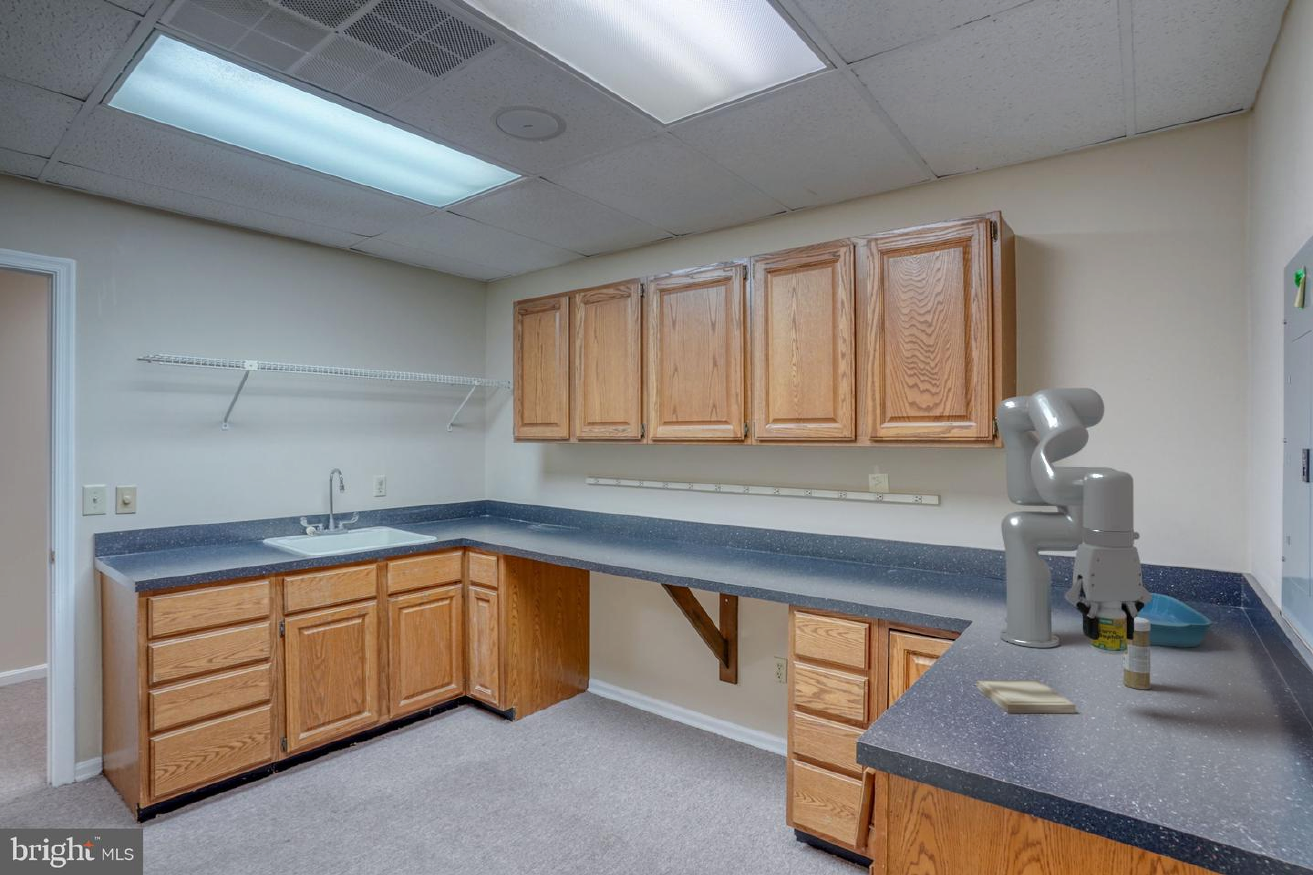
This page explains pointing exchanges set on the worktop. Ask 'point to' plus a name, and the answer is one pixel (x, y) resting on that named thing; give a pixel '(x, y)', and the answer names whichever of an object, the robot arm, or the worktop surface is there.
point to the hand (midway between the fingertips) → (1108, 636)
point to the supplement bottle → (1111, 629)
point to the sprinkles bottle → (1138, 656)
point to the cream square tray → (1025, 696)
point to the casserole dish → (1173, 622)
